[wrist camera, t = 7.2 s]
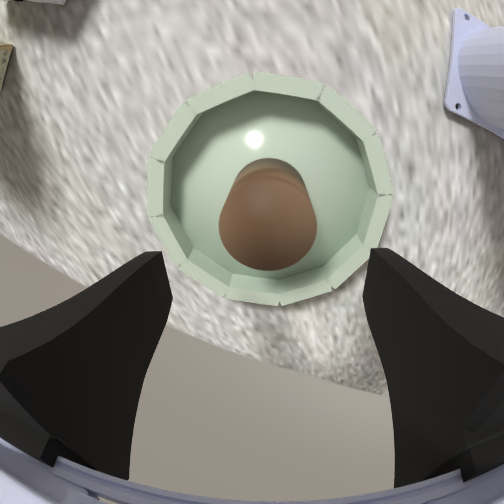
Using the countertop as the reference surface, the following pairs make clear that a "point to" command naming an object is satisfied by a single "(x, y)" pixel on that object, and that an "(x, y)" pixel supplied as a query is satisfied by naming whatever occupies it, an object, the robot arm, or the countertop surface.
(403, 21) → the countertop surface
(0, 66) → the skincare box
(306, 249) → the walnut bead
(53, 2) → the charger
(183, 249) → the round tray
